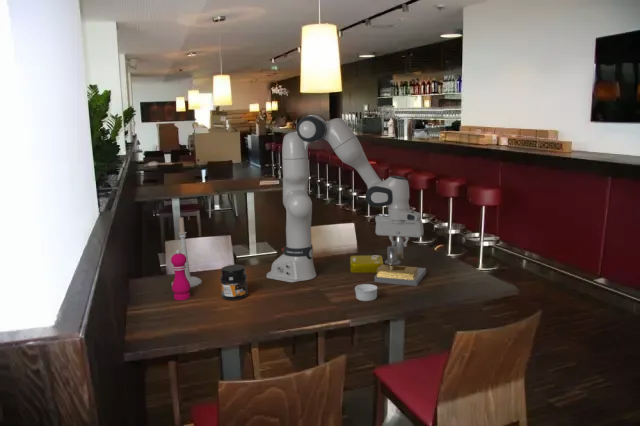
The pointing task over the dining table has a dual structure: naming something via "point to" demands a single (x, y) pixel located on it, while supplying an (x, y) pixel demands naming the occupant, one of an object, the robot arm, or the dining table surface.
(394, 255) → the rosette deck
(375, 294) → the ramekin
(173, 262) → the pepper mill
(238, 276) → the supplement container
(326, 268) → the dining table surface
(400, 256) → the steel pin
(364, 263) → the element tile
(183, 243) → the candlestick
